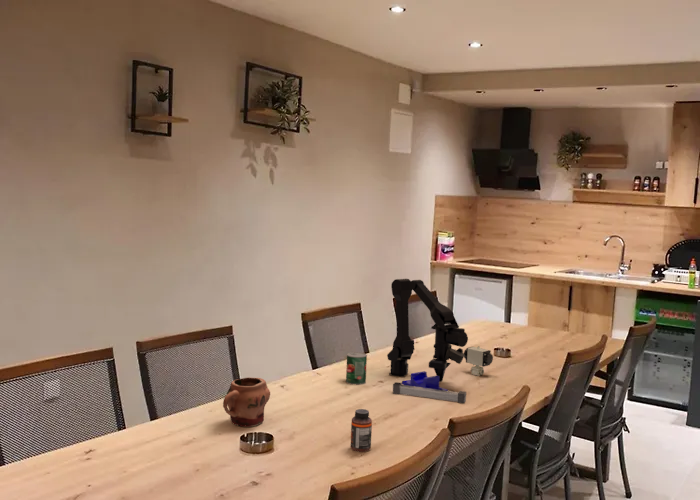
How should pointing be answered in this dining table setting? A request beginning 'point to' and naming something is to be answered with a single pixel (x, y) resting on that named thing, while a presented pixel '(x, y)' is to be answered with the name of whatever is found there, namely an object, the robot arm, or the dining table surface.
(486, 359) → the pneumatic valve
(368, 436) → the supplement bottle
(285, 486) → the dining table surface
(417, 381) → the mounting bracket
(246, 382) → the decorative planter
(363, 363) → the canned tomato
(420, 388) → the rail
